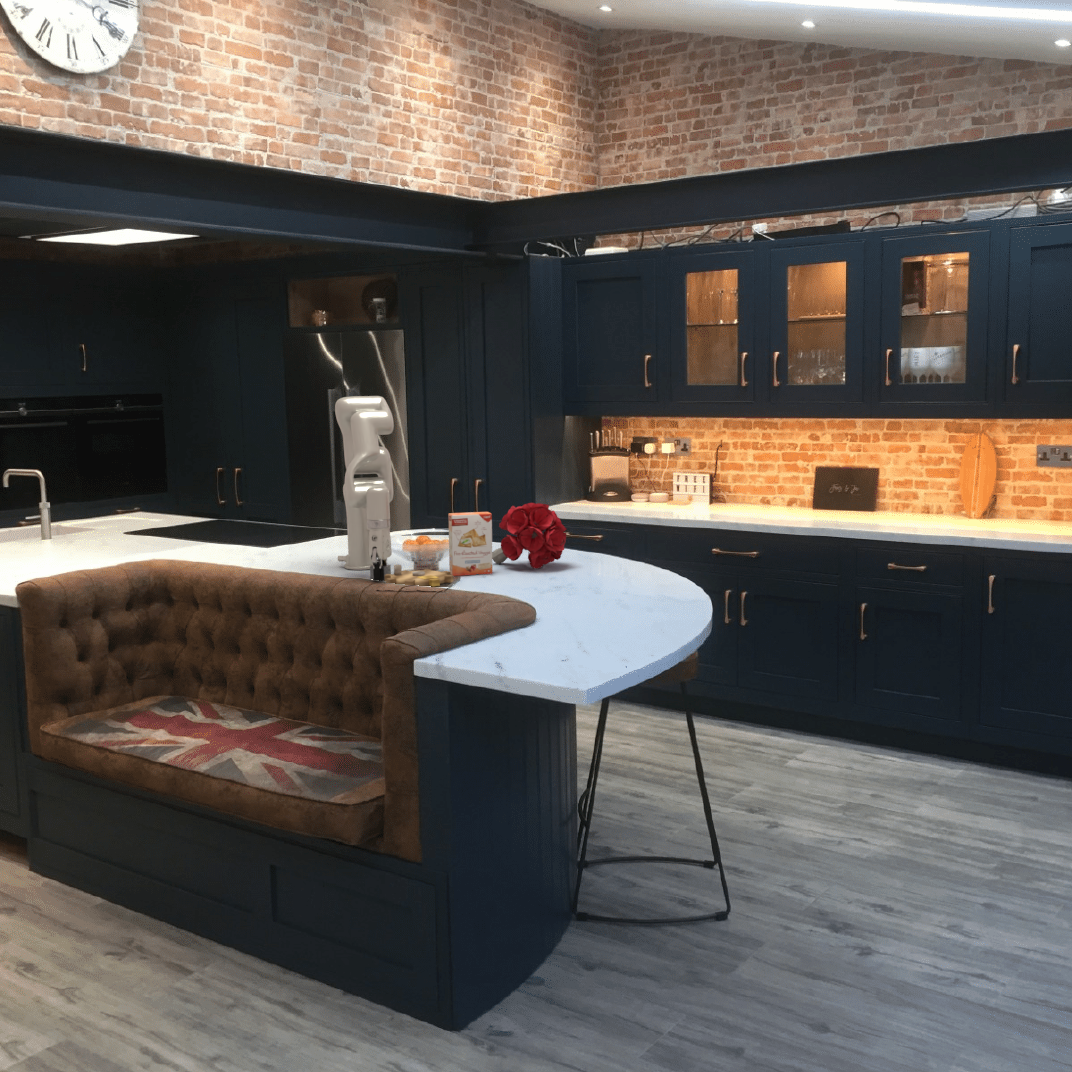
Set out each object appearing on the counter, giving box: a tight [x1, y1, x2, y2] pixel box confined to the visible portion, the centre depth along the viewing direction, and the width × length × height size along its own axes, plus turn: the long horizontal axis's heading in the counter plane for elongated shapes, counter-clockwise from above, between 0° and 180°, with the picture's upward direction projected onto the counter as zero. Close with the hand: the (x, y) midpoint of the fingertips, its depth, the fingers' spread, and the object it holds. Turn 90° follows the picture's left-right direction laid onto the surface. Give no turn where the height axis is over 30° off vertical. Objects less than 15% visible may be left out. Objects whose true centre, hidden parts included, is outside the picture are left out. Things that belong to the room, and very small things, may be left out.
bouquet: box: [492, 502, 567, 570], centre depth 409 cm, size 22×24×30 cm
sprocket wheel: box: [384, 564, 454, 587], centre depth 378 cm, size 22×22×5 cm
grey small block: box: [369, 564, 392, 582], centre depth 389 cm, size 6×4×5 cm, turn 79°
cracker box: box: [448, 511, 493, 577], centre depth 396 cm, size 14×6×21 cm, turn 105°
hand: (380, 578), depth 389 cm, fingers closed on grey small block, 3 cm apart
